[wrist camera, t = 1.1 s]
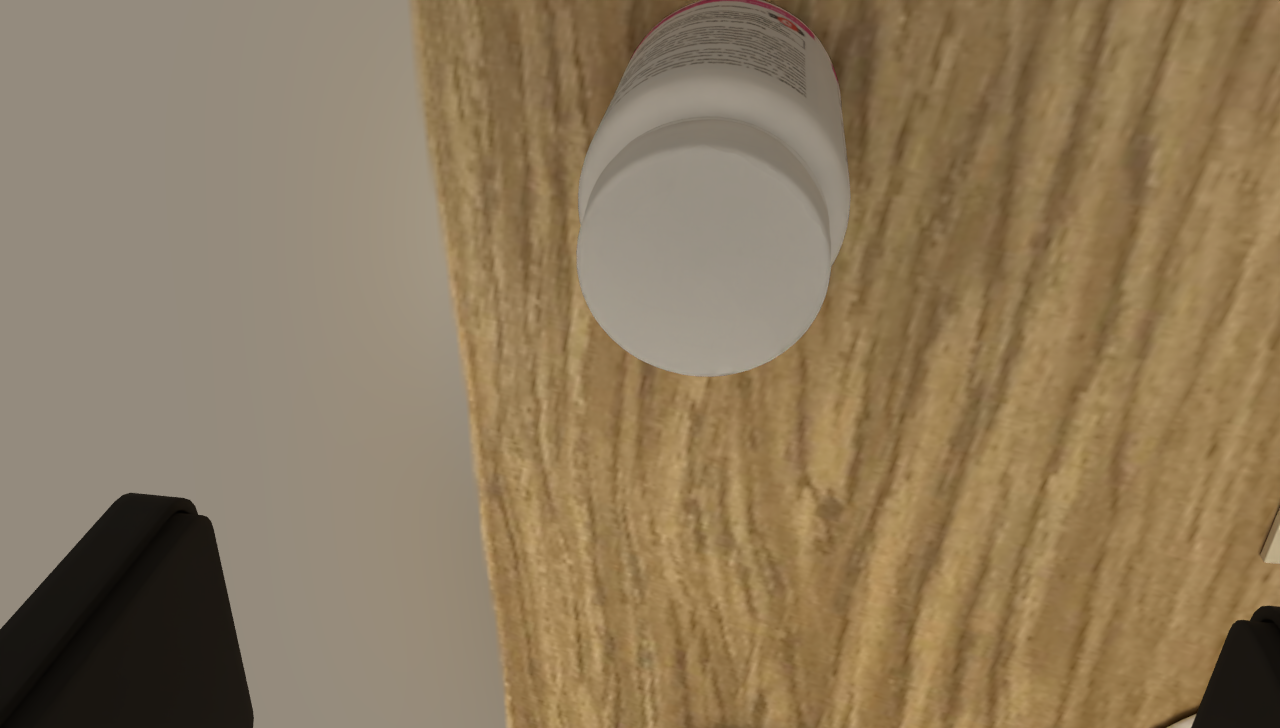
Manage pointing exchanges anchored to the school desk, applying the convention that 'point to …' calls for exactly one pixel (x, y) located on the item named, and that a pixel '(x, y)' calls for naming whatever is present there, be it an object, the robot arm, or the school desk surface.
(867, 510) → the school desk surface
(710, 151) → the pill bottle
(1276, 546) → the sheet
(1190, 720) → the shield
